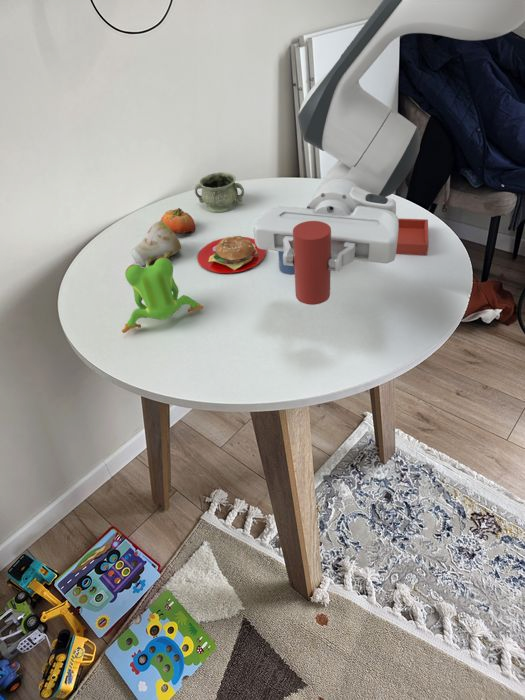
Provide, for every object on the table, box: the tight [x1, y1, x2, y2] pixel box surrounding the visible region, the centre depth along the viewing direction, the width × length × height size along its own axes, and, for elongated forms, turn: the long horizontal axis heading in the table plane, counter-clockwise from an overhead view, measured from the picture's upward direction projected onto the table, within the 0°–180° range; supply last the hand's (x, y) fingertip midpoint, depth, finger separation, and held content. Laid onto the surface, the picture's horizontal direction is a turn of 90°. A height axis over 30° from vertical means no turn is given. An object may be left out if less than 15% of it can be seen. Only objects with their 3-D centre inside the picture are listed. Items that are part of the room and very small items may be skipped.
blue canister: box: [277, 251, 295, 275], centre depth 91 cm, size 5×5×10 cm
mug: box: [130, 220, 182, 267], centre depth 99 cm, size 8×10×10 cm
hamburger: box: [197, 235, 267, 274], centre depth 97 cm, size 14×14×6 cm
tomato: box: [160, 207, 196, 234], centre depth 108 cm, size 8×7×7 cm
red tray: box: [396, 217, 429, 256], centre depth 98 cm, size 10×10×2 cm
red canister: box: [293, 221, 332, 306], centre depth 65 cm, size 5×5×10 cm
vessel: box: [194, 171, 245, 213], centre depth 115 cm, size 12×9×6 cm
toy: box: [121, 257, 204, 334], centre depth 83 cm, size 14×9×10 cm, turn 112°
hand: (310, 264), depth 64 cm, fingers closed on red canister, 5 cm apart
